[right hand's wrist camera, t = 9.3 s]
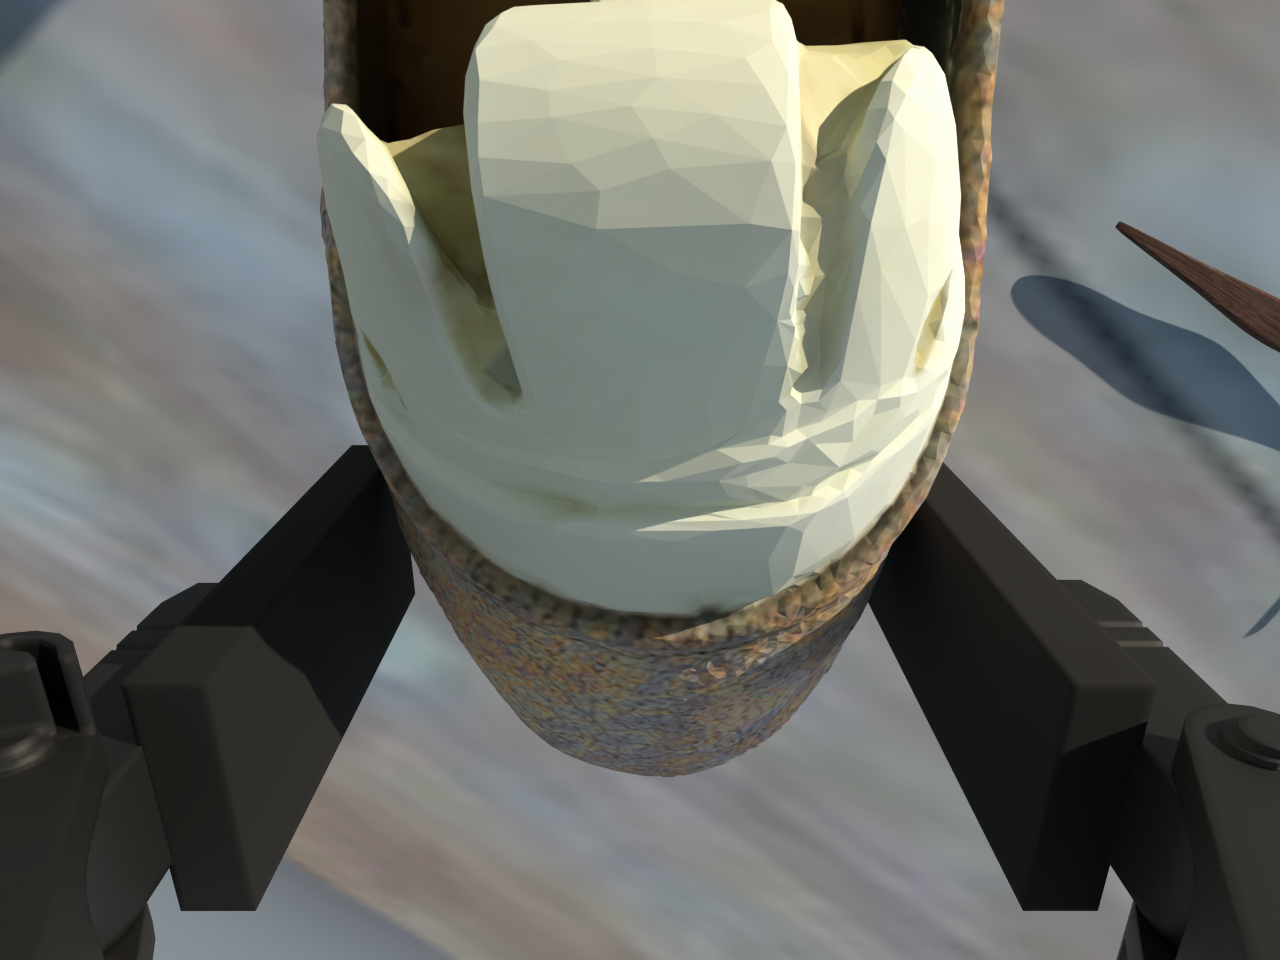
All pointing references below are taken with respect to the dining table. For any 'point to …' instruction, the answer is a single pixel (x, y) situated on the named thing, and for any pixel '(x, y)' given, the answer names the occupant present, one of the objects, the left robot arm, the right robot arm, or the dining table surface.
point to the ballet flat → (656, 331)
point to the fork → (1217, 289)
